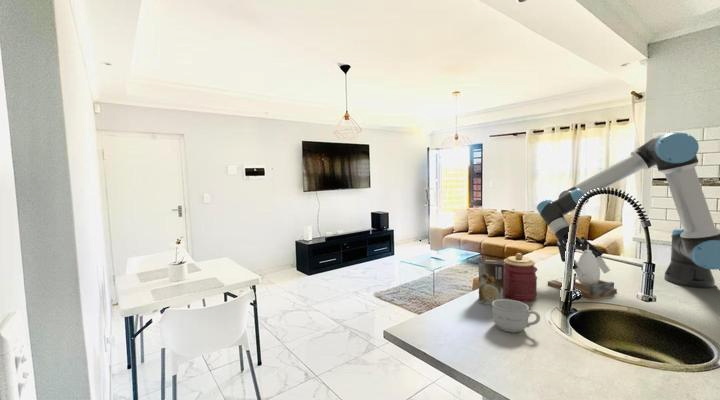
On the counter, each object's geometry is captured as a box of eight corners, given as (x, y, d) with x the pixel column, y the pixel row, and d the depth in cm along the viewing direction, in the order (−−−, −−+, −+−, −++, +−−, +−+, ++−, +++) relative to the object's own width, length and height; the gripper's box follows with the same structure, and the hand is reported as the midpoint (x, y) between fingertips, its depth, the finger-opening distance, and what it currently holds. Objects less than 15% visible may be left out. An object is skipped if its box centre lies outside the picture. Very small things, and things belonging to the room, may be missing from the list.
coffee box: (503, 300, 126) (504, 260, 124) (504, 306, 120) (504, 264, 119) (479, 297, 129) (478, 258, 128) (478, 303, 123) (478, 262, 122)
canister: (544, 299, 126) (545, 254, 124) (519, 304, 121) (519, 259, 120) (518, 288, 138) (518, 247, 136) (494, 292, 133) (494, 251, 132)
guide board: (573, 279, 146) (573, 269, 146) (616, 292, 129) (617, 281, 129) (547, 284, 141) (547, 274, 140) (589, 299, 124) (589, 288, 123)
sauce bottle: (593, 284, 135) (593, 242, 134) (604, 290, 127) (604, 246, 126) (573, 284, 136) (573, 242, 135) (581, 290, 129) (581, 246, 128)
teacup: (485, 327, 105) (485, 303, 104) (502, 317, 112) (503, 294, 111) (529, 344, 94) (529, 318, 93) (545, 332, 101) (546, 307, 100)
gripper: (578, 232, 148) (611, 274, 135) (535, 237, 142) (564, 281, 128) (590, 223, 143) (624, 265, 129) (545, 227, 136) (577, 272, 123)
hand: (595, 273), depth 129 cm, fingers open, 12 cm apart
